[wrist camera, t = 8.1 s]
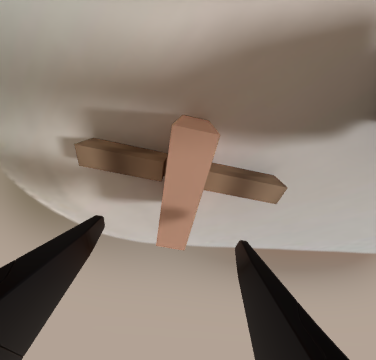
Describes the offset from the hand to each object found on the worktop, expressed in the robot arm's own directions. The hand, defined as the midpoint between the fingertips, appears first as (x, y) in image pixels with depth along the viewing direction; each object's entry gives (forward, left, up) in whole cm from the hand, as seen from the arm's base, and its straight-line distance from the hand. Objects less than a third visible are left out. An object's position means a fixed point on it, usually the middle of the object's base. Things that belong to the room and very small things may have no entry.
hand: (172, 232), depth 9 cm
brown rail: (0, 0, -11) cm, 11 cm away
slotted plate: (0, 0, -11) cm, 11 cm away
